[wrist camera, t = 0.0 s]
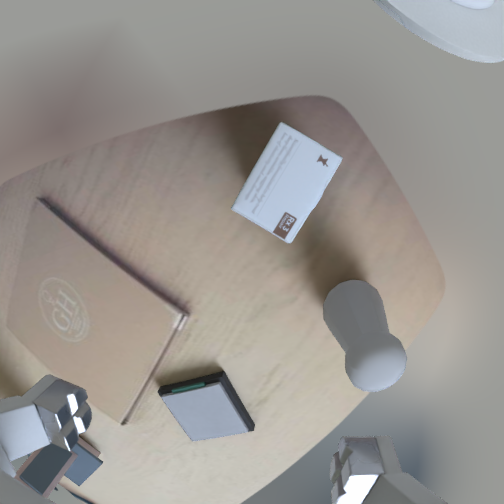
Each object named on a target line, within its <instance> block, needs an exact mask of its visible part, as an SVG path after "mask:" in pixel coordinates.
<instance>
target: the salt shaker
mask: <svg viewBox="0 0 504 504" xmlns="http://www.w3.org/2000/svg"><path fill="white" fill-rule="evenodd" d="M323 318H324V321H325V322H326V324H327V326H328V328H329V330H330V331H331V332H332V334H333V335H334V337H335V338H336V340H337V341H338V342H339V344H340V345H341V347H342V348H343V350H344V351H345V353H346V355H345V369H346V373H347V375H348V377H349V379H350V380H351V382H352V384H353V385H354V386H355V387H357V388H359V389H361V390H362V391H370V392H377V391H379V390H383V389H386V388H388V387H389V386H391V385H392V384H394V383H395V382H396V381H398V380H399V378H400V377H401V375H402V374H403V372H404V370H405V368H406V361H407V356H406V352H405V350H404V348H403V346H402V343H401V342H400V341H399V339H398V338H396V337H395V336H393V335H392V334H390V333H389V329H388V324H387V319H386V315H385V310H384V306H383V301H382V299H381V297H380V295H379V293H378V291H377V289H375V288H374V287H373V286H371V285H370V284H369V283H367V282H366V281H360V280H349V281H345V282H342V283H339V284H338V285H337V286H336V287H334V288H333V289H332V290H331V291H330V292H329V293H328V295H327V298H326V300H325V302H324V304H323Z"/></svg>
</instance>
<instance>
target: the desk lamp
mask: <svg viewBox="0 0 504 504" xmlns="http://www.w3.org/2000/svg"><path fill="white" fill-rule="evenodd" d="M99 455H100V452H98V451H97V450H96V449H94V448H93V447H92V446H91V445H89V444H88V443H87V442H85V441H84V440H83V439H82V438H80V437H79V440H78V442H77V443H76V444H75V446H74V447H73V448H72V449H71V451H68V450H65V449H63V448H61V447H59V446H57V445H54V444H52V443H50V444H49V445H47V446H44V447H42V448H40V449H38V450H35V451H34V452H33V453H32V454H31V455H30V457H29V458H28V459H27V460H26V461H25V462H24V464H23V465H22V466H21V467H20V468H19V470H18V471H17V472H16V475H15V477H14V478H15V479H16V480H18V481H19V482H21V483H23V484H24V485H26V486H27V487H29V488H30V489H32V490H34V491H35V492H37V493H39V494H40V495H42V496H44V497H45V498H48V496H49V495H50V493H51V492H52V491H53V489H54V488H55V486H56V485H57V484H58V482H59V481H60V480H61V478H62V477H63V475H65V476H66V477H67V478H69V479H70V480H71V481H73V482H74V483H75V484H77V485H78V486H80V485H81V484H82V483H83V482H84V481H85V480H86V479H87V478H88V477H89V476H90V475H91V474H92V473H93V472H94V471H95V470H96V469H97V468H98V467H99V466H100V465H101V464H102V463H103V461H101V460H100V459H99V458H98V456H99Z"/></svg>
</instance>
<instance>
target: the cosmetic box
mask: <svg viewBox="0 0 504 504" xmlns="http://www.w3.org/2000/svg"><path fill="white" fill-rule="evenodd" d="M341 161H342V157H341V156H339V155H338V154H336V153H334V152H333V151H331V150H329V149H327V148H326V147H324V146H323V145H321V144H319V143H317V142H316V141H314V140H312V139H311V138H309V137H307V136H305V135H304V134H302V133H300V132H299V131H297V130H295V129H294V128H292V127H290V126H289V125H287V124H285V123H284V122H280V123H279V125H278V126H277V128H276V130H275V131H274V133H273V135H272V137H271V138H270V140H269V142H268V144H267V145H266V147H265V149H264V150H263V152H262V154H261V156H260V157H259V159H258V161H257V163H256V164H255V166H254V168H253V169H252V171H251V173H250V175H249V176H248V178H247V180H246V182H245V184H244V185H243V187H242V189H241V191H240V193H239V194H238V196H237V198H236V200H235V202H234V204H233V205H232V207H231V209H232V210H233V211H235V212H236V213H238V214H240V215H242V216H243V217H245V218H247V219H248V220H250V221H252V222H254V223H255V224H257V225H259V226H260V227H262V228H264V229H265V230H267V231H269V232H270V233H272V234H273V235H275V236H277V237H278V238H280V239H282V240H283V241H285V242H287V243H291V242H292V241H293V239H294V238H295V236H296V234H297V233H298V231H299V230H300V228H301V227H302V225H303V223H304V222H305V220H306V219H307V217H308V215H309V214H310V212H311V211H312V210H313V209H314V207H315V206H316V205H317V203H318V201H319V200H320V198H321V196H322V194H323V191H324V190H325V188H326V186H327V185H328V183H329V181H330V180H331V178H332V176H333V175H334V173H335V171H336V170H337V168H338V166H339V165H340V163H341Z"/></svg>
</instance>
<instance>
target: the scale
mask: <svg viewBox="0 0 504 504" xmlns="http://www.w3.org/2000/svg"><path fill="white" fill-rule="evenodd" d="M158 393H159V395H160V396H161V398H162V399H163V401H164V402H165V404H166V405H167V407H168V408H169V410H170V411H171V413H172V414H173V416H174V417H175V418H176V420H177V421H178V423H179V424H180V425H181V427H182V428H183V430H184V431H185V432H186V434H187V435H188V436H189V438H190V439H191V440H192V441H198V440H205V439H212V438H218V437H224V436H229V435H235V434H240V433H245V432H249V431H254V427H255V424H254V422H253V420H252V419H251V417H250V415H249V414H248V412H247V410H246V409H245V407H244V405H243V404H242V402H241V400H240V398H239V397H238V395H237V393H236V391H235V390H234V388H233V386H232V384H231V383H230V381H229V379H228V377H227V375H226V374H225V372H224V371H223V372H219V373H215V374H211V375H208V376H204V377H200V378H196V379H192V380H187V381H183V382H179V383H175V384H170V385H166V386H161V387H160V388H159V390H158Z"/></svg>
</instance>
